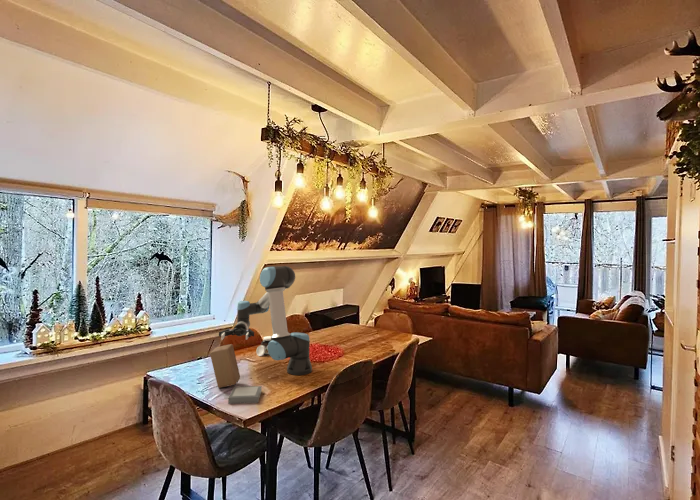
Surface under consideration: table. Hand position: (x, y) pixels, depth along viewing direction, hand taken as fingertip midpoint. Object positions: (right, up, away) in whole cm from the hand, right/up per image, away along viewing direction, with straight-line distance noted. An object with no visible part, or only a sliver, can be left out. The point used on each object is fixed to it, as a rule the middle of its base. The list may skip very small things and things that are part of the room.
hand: (234, 337), depth 215 cm
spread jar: (+7, -23, +49) cm, 55 cm away
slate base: (+13, -24, -25) cm, 37 cm away
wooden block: (0, -23, -9) cm, 25 cm away
